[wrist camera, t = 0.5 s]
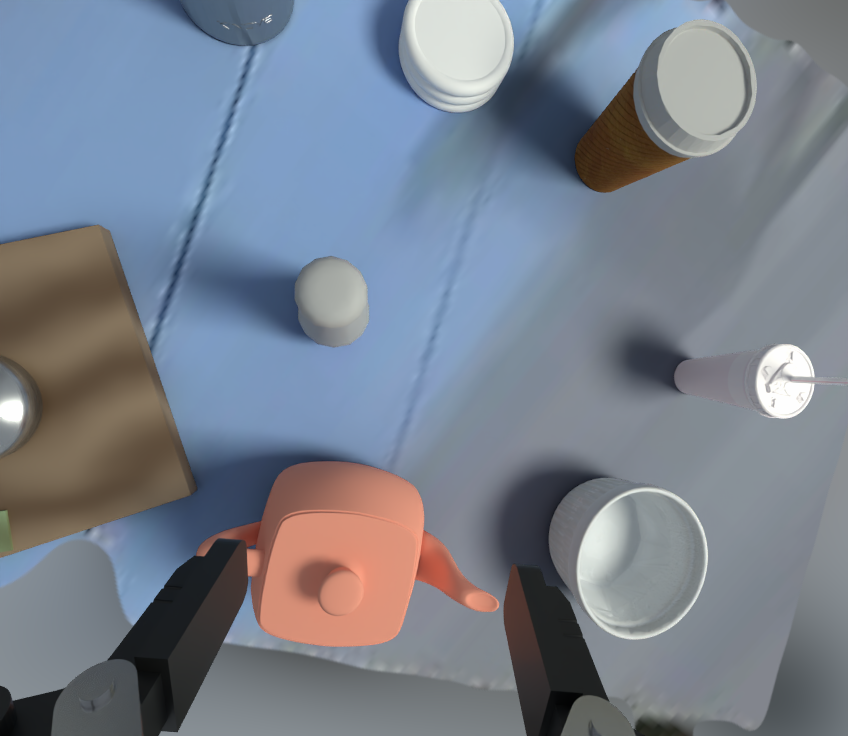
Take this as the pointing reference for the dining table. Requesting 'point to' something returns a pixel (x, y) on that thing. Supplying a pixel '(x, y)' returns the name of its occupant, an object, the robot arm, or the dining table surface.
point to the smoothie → (755, 379)
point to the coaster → (455, 51)
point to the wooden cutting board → (82, 393)
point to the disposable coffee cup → (671, 107)
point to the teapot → (343, 556)
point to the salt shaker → (332, 301)
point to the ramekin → (629, 555)
